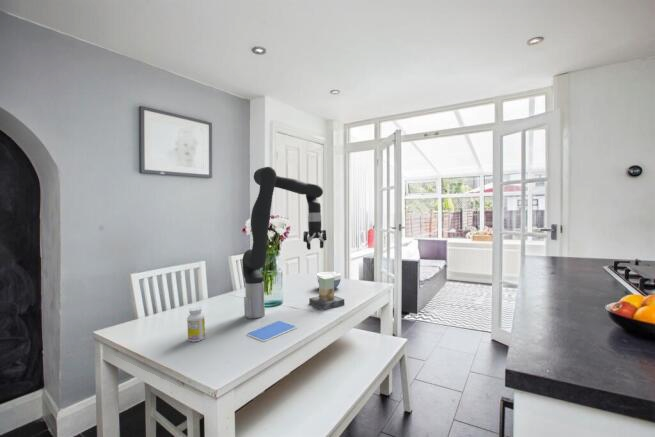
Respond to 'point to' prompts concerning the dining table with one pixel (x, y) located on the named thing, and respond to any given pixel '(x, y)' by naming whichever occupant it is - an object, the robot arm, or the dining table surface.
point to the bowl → (332, 274)
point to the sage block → (326, 282)
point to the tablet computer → (271, 331)
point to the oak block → (326, 294)
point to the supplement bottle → (196, 325)
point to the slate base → (326, 302)
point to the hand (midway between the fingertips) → (315, 248)
